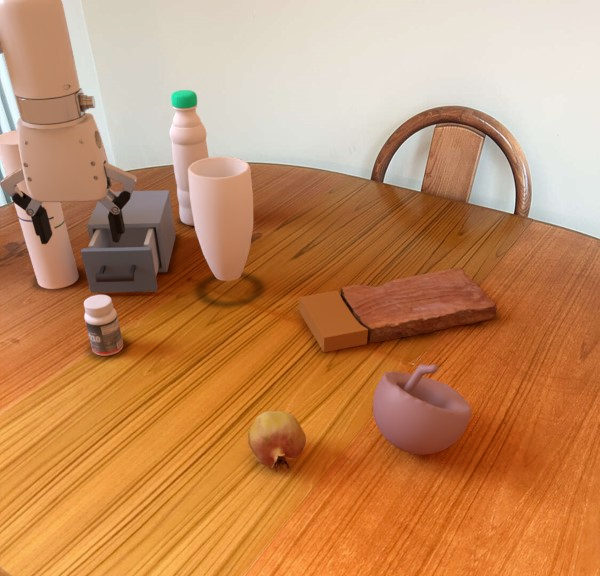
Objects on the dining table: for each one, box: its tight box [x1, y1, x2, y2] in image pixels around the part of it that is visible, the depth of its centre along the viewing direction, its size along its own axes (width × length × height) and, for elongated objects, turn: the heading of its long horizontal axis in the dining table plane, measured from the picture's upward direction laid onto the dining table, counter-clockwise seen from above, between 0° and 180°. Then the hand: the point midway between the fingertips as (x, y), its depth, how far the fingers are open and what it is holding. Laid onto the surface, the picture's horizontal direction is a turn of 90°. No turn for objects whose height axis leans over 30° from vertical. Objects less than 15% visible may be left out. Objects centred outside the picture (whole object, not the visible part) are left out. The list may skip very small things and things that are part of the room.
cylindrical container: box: [0, 129, 80, 290], centre depth 110 cm, size 7×7×25 cm
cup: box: [188, 156, 254, 282], centre depth 108 cm, size 10×10×22 cm
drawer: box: [80, 227, 161, 294], centre depth 114 cm, size 18×11×8 cm, turn 2°
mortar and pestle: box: [372, 363, 472, 456], centre depth 81 cm, size 12×12×11 cm
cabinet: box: [86, 189, 177, 273], centre depth 122 cm, size 15×13×10 cm
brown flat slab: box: [298, 267, 498, 353], centre depth 107 cm, size 13×30×3 cm, turn 108°
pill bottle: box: [83, 294, 124, 357], centre depth 99 cm, size 5×5×8 cm
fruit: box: [247, 410, 307, 473], centre depth 81 cm, size 7×7×10 cm
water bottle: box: [169, 89, 210, 227], centre depth 129 cm, size 7×7×25 cm
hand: (82, 238), depth 90 cm, fingers open, 9 cm apart
